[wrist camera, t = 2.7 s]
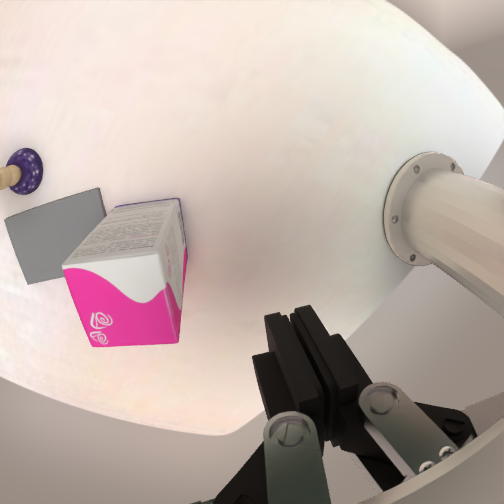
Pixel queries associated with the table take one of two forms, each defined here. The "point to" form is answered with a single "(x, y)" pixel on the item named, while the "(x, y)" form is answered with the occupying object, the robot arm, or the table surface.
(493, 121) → the table surface
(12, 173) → the toy lamp
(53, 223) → the mat
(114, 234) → the supplement box
